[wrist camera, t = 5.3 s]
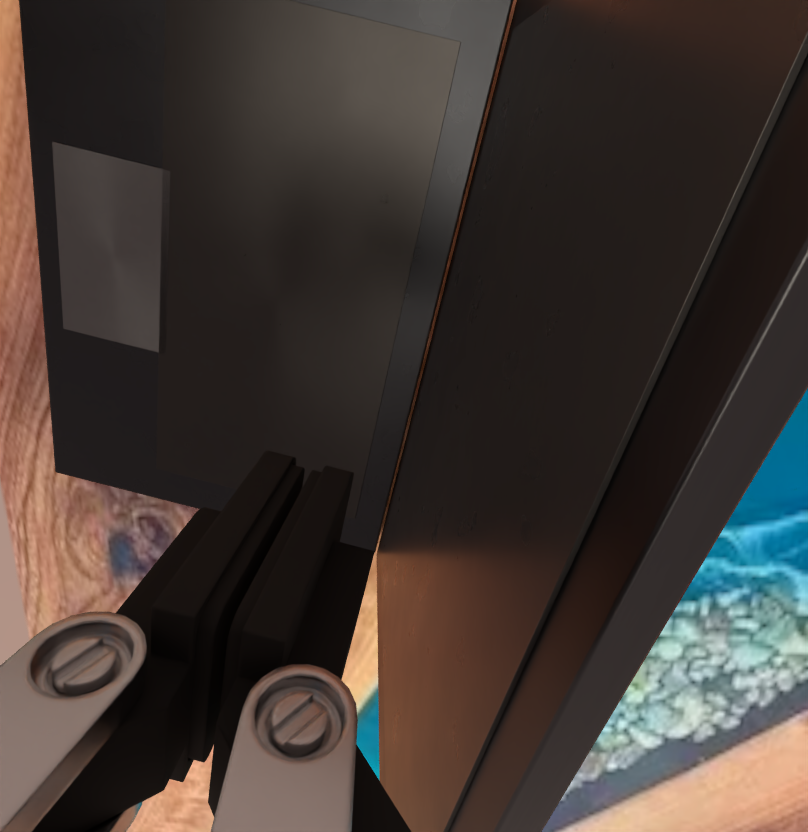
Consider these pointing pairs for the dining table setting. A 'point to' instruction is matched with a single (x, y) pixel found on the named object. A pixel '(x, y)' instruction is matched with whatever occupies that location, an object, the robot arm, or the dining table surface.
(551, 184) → the laptop screen
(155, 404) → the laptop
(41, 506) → the dining table surface
